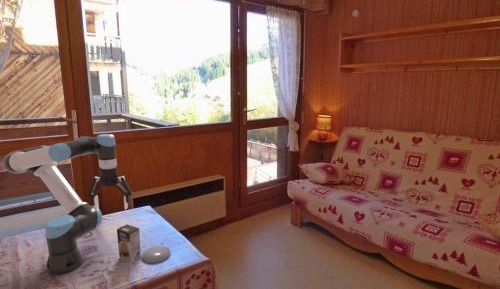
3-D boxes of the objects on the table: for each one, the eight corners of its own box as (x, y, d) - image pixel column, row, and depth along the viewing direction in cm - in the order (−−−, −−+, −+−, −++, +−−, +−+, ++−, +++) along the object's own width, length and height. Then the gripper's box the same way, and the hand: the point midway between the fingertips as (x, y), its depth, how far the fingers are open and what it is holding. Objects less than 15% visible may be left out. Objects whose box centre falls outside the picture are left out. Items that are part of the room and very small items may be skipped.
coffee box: (118, 258, 148) (116, 229, 145) (129, 252, 154) (126, 223, 151) (131, 263, 144) (128, 233, 141) (141, 256, 150) (139, 227, 147)
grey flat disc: (138, 264, 144) (138, 262, 144) (145, 248, 157) (145, 246, 157) (167, 262, 145) (167, 261, 145) (172, 247, 159) (172, 245, 158)
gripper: (76, 169, 134) (81, 213, 139) (133, 169, 137) (136, 211, 142) (83, 165, 141) (87, 206, 146) (137, 164, 144) (140, 204, 149)
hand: (111, 208), depth 144 cm, fingers open, 13 cm apart
